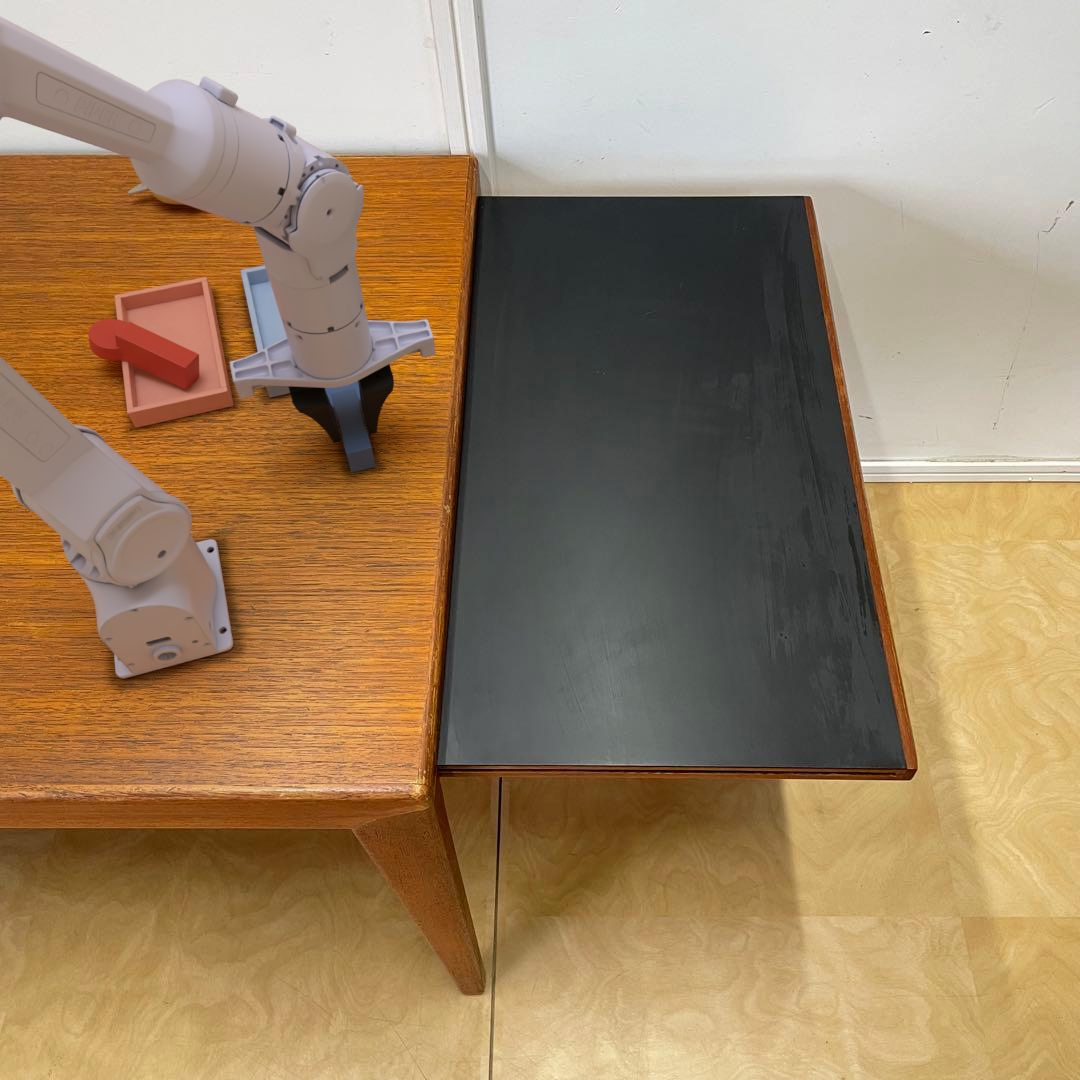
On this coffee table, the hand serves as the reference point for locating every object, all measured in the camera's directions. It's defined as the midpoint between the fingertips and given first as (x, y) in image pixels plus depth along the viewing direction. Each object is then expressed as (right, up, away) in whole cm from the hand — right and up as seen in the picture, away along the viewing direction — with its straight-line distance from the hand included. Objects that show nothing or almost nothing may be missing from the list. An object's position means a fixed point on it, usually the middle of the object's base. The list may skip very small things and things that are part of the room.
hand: (353, 429), depth 74 cm
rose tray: (-16, +7, +6) cm, 19 cm away
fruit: (-20, +25, +17) cm, 36 cm away
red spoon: (-18, +6, +3) cm, 20 cm away
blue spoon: (0, 0, +2) cm, 2 cm away
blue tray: (-6, +10, +8) cm, 14 cm away
